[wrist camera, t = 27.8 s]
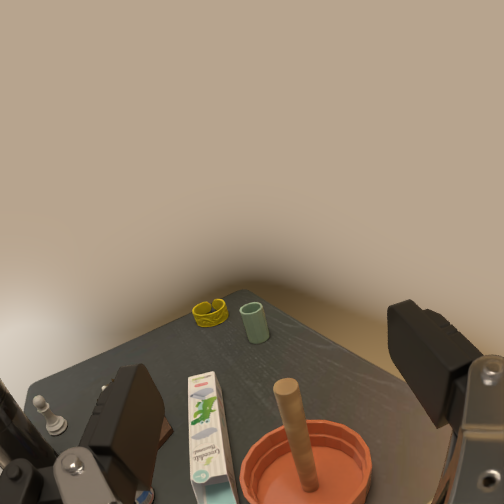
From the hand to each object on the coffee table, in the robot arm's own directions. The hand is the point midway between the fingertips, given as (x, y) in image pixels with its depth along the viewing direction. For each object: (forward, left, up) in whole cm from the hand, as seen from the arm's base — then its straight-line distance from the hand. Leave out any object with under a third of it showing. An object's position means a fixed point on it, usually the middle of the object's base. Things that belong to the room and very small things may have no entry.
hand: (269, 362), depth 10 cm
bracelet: (-3, +61, -30) cm, 68 cm away
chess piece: (-38, +34, -30) cm, 59 cm away
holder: (+5, +47, -30) cm, 56 cm away
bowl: (+2, +11, -30) cm, 32 cm away
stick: (+2, +11, -29) cm, 31 cm away
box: (-8, +21, -30) cm, 38 cm away
